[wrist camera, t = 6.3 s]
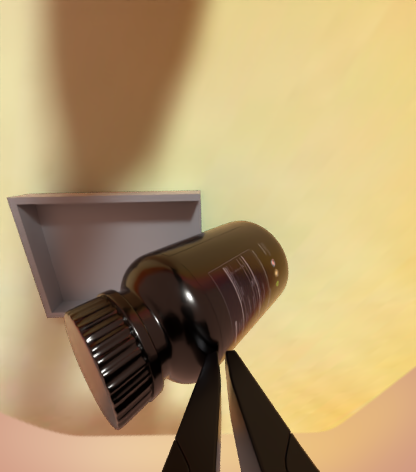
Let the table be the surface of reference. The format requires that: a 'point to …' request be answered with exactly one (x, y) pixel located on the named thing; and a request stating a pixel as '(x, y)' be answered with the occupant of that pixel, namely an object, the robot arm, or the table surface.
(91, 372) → the supplement bottle
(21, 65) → the table surface
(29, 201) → the tray
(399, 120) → the table surface
